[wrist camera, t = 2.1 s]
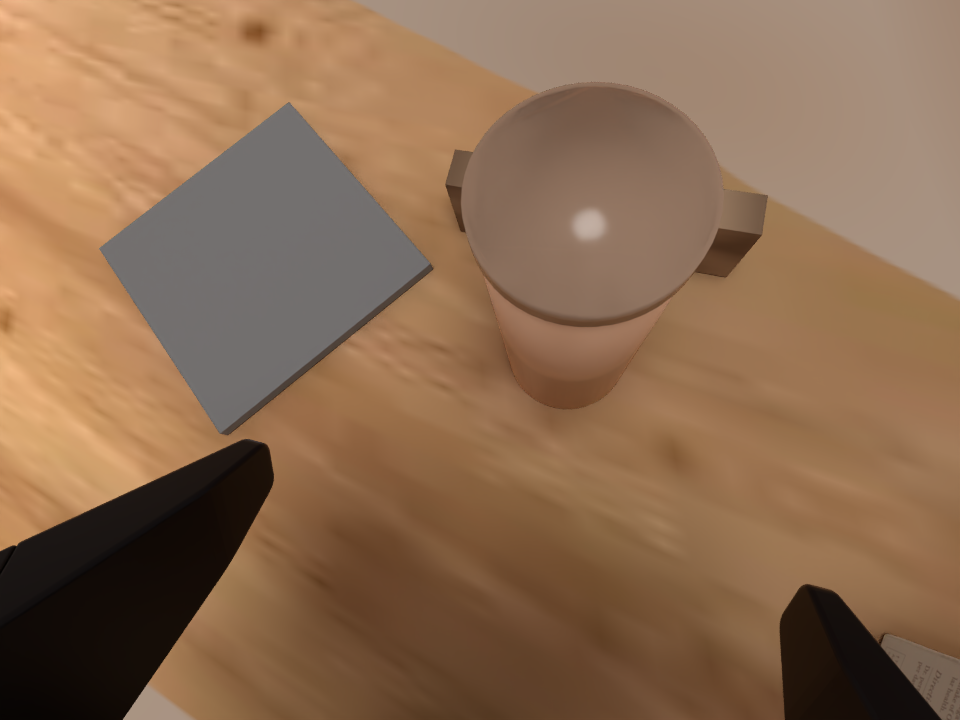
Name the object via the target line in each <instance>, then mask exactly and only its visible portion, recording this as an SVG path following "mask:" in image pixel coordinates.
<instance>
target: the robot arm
mask: <svg viewBox="0 0 960 720" xmlns="http://www.w3.org/2000/svg"><path fill="white" fill-rule="evenodd" d="M273 481H274V473H273V467H272V462H271V456H270V450H269V447H268V446H267V445H266V444H265V443H262V442H258V441H254V440H250V439H244V440H241V441H239V442H236V443H234V444H232V445H230V446H228V447H226V448H223V449H221V450H219V451H217V452H215V453H212V454H210V455H208V456H206V457H204V458H202V459H199V460H197V461H195V462H193V463H191V464H189V465H186V466H184V467H182V468H180V469H178V470H176V471H173V472H171V473H169V474H167V475H165V476H163V477H160V478H158V479H156V480H154V481H152V482H150V483H147V484H145V485H143V486H141V487H139V488H137V489H134V490H132V491H130V492H128V493H126V494H124V495H121V496H119V497H117V498H115V499H113V500H110V501H108V502H106V503H104V504H102V505H100V506H97V507H95V508H93V509H91V510H89V511H87V512H84V513H82V514H80V515H78V516H76V517H74V518H71V519H69V520H67V521H65V522H63V523H61V524H58V525H56V526H54V527H52V528H50V529H48V530H45V531H43V532H41V533H39V534H37V535H34V536H32V537H30V538H28V539H26V540H24V541H21V542H20V543H19V544H18V545H17V546H15V545H13V546H10V547H8V548H6V549H4V550H2V551H0V720H123V718H124V717H125V715H126V714H127V712H128V711H129V710H130V708H131V707H132V705H133V704H134V702H135V701H136V700H137V698H138V697H139V695H140V694H141V692H142V691H143V689H144V688H145V686H146V685H147V684H148V682H149V681H150V679H151V678H152V676H153V675H154V673H155V672H156V671H157V669H158V668H159V666H160V665H161V663H162V662H163V660H164V659H165V657H166V656H167V655H168V653H169V652H170V650H171V649H172V647H173V646H174V644H175V643H176V641H177V640H178V639H179V637H180V636H181V634H182V633H183V631H184V630H185V628H186V627H187V626H188V624H189V623H190V621H191V620H192V618H193V617H194V615H195V614H196V612H197V611H198V610H199V608H200V607H201V605H202V604H203V602H204V601H205V599H206V598H207V597H208V595H209V594H210V592H211V591H212V589H213V588H214V586H215V585H216V583H217V582H218V581H219V579H220V578H221V576H222V575H223V573H224V572H225V570H226V569H227V567H228V566H229V564H230V562H231V561H232V559H233V557H234V556H235V554H236V552H237V550H238V549H239V547H240V545H241V543H242V541H243V539H244V538H245V536H246V534H247V532H248V530H249V529H250V527H251V525H252V523H253V521H254V519H255V518H256V516H257V514H258V512H259V510H260V509H261V507H262V505H263V503H264V501H265V499H266V498H267V496H268V494H269V492H270V490H271V488H272V485H273ZM780 645H781V663H782V680H783V697H784V714H785V720H942V719H941V718H940V717H939V715H938V714H937V713H936V712H935V711H934V709H933V708H932V707H931V706H930V705H929V703H928V702H927V701H926V700H925V699H924V697H923V696H922V695H921V694H920V692H919V691H918V690H917V689H916V688H915V686H914V685H913V684H912V683H911V682H910V680H909V679H908V678H907V677H906V676H905V674H904V673H903V672H902V671H901V670H900V668H899V667H898V666H897V665H896V664H895V662H894V661H893V660H892V659H891V658H890V656H889V655H888V654H887V653H886V652H885V650H884V649H883V648H882V647H881V646H880V644H879V643H878V642H877V641H876V640H875V638H874V637H873V636H872V635H871V634H870V632H869V631H868V630H867V629H866V628H865V626H864V625H863V624H862V623H861V621H860V620H859V619H858V618H857V617H856V615H855V614H854V613H853V612H852V611H851V609H850V608H849V607H848V606H847V605H846V603H845V602H844V601H843V600H842V599H841V597H840V596H839V595H838V594H836V593H835V592H834V591H832V590H829V589H825V588H822V587H818V586H814V585H810V584H805V585H803V586H801V587H800V588H799V590H798V591H797V593H796V594H795V596H794V597H793V599H792V600H791V602H790V603H789V605H788V606H787V608H786V609H785V611H784V612H783V614H782V617H781V620H780Z"/></svg>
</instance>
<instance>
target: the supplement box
mask: <svg viewBox="0 0 960 720" xmlns="http://www.w3.org/2000/svg"><path fill="white" fill-rule="evenodd" d="M881 647H882V648H883V649H884V650H885V652H886V653H887V654H888V655H889V656H890V658H891V659H892V660H893V661H894V662H895V664H896V665H897V666H898V667H899V668H900V670H901V671H902V672H903V673H904V674H905V676H906V677H907V678H908V679H909V680H910V682H911V683H912V684H913V685H914V686H915V688H916V689H917V690H918V691H919V692H920V694H921V695H922V696H923V697H924V699H925V700H926V701H927V702H928V703H929V705H930V706H931V707H932V708H933V709H934V711H935V712H936V713H937V714H938V715H939V717H940V718H941V719H942V720H960V659H957V658H954V657H952V656H949V655H946V654H943V653H940V652H937V651H935V650H932V649H930V648H927V647H924V646H922V645H919V644H917V643H914V642H911V641H909V640H906V639H904V638H900V637H897V636H894V635H890V634H885V635H884V638H883V641H882V644H881Z"/></svg>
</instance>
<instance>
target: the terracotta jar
mask: <svg viewBox="0 0 960 720" xmlns="http://www.w3.org/2000/svg"><path fill="white" fill-rule="evenodd" d="M723 200H724V192H723V180H722V175H721V171H720V167H719V163H718V161H717V158H716V156H715V153H714V151H713V149H712V147H711V146H710V144H709V142H708V140H707V139H706V137H705V136H704V134H703V133H702V132H701V130H700V129H699V128H698V127H697V125H696V124H695V123H694V122H693V121H692V120H691V119H690V118H689V117H688V116H687V115H685V114H684V113H683V112H682V111H680V110H679V109H678V108H676V107H675V106H674V105H672V104H671V103H669V102H667V101H666V100H664V99H662V98H660V97H659V96H656V95H654V94H652V93H649V92H647V91H644V90H641V89H638V88H634V87H631V86H627V85H621V84H615V83H605V82H587V83H576V84H570V85H564V86H560V87H556V88H553V89H549V90H546V91H544V92H541V93H539V94H536V95H534V96H532V97H530V98H528V99H526V100H524V101H523V102H521V103H519V104H518V105H516V106H515V107H513V108H512V109H510V110H509V111H508V112H506V113H505V114H504V115H503V116H502V117H501V118H499V119H498V120H497V121H496V122H495V123H494V124H493V125H492V126H491V127H490V129H489V130H488V131H487V132H486V133H485V134H484V136H483V137H482V139H481V140H480V142H479V143H478V145H477V146H476V148H475V150H474V152H473V154H472V156H471V158H470V160H469V163H468V166H467V169H466V172H465V175H464V180H463V185H462V195H461V208H462V219H463V223H464V227H465V231H466V234H467V238H468V241H469V244H470V247H471V250H472V253H473V255H474V258H475V260H476V263H477V265H478V266H479V268H480V270H481V271H482V273H483V275H484V278H485V281H486V285H487V288H488V292H489V295H490V298H491V302H492V305H493V308H494V312H495V315H496V319H497V322H498V325H499V329H500V332H501V335H502V339H503V342H504V346H505V349H506V352H507V356H508V359H509V362H510V366H511V369H512V372H513V374H514V377H515V378H516V380H517V382H518V383H519V385H520V386H521V387H522V389H523V390H524V391H525V392H526V393H527V394H528V395H530V396H531V397H532V398H533V399H535V400H537V401H539V402H540V403H543V404H545V405H547V406H551V407H554V408H560V409H575V408H581V407H585V406H588V405H590V404H593V403H595V402H597V401H598V400H600V399H601V398H603V397H604V396H606V395H607V394H608V393H609V392H610V391H611V390H612V389H613V387H614V386H615V385H616V383H617V382H618V380H619V379H620V377H621V376H622V374H623V373H624V371H625V369H626V368H627V366H628V365H629V363H630V362H631V360H632V359H633V357H634V355H635V354H636V352H637V351H638V349H639V348H640V346H641V345H642V343H643V342H644V340H645V338H646V337H647V335H648V334H649V332H650V331H651V329H652V328H653V326H654V324H655V323H656V321H657V320H658V318H659V317H660V315H661V314H662V312H663V311H664V309H665V307H666V306H667V304H668V303H669V301H670V300H671V298H672V297H673V295H675V294H676V293H677V292H678V291H679V290H680V289H681V288H682V287H683V286H684V285H685V283H686V282H687V281H688V280H689V278H690V277H691V276H692V275H693V273H694V272H695V270H696V269H697V267H698V266H699V264H700V263H701V261H702V260H703V258H704V257H705V255H706V253H707V252H708V250H709V248H710V247H711V245H712V243H713V241H714V238H715V236H716V233H717V231H718V228H719V225H720V221H721V216H722V212H723Z"/></svg>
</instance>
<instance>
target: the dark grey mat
mask: <svg viewBox="0 0 960 720" xmlns="http://www.w3.org/2000/svg"><path fill="white" fill-rule="evenodd" d="M99 249H100V251H101V252H102V254H103V255H104V257H105V258H106V260H107V261H108V263H109V264H110V266H111V267H112V269H113V271H114V272H115V274H116V275H117V277H118V278H119V280H120V281H121V283H122V284H123V286H124V287H125V289H126V290H127V292H128V293H129V295H130V297H131V298H132V300H133V301H134V303H135V304H136V306H137V307H138V309H139V310H140V312H141V313H142V315H143V316H144V318H145V320H146V321H147V323H148V324H149V326H150V327H151V329H152V330H153V332H154V333H155V335H156V336H157V338H158V339H159V341H160V342H161V344H162V346H163V347H164V349H165V350H166V352H167V353H168V355H169V356H170V358H171V359H172V361H173V362H174V364H175V365H176V367H177V369H178V370H179V372H180V373H181V375H182V376H183V378H184V379H185V381H186V382H187V384H188V385H189V387H190V388H191V390H192V391H193V393H194V395H195V396H196V398H197V399H198V401H199V402H200V404H201V405H202V407H203V408H204V410H205V411H206V413H207V414H208V416H209V418H210V419H211V421H212V422H213V424H214V425H215V427H216V428H217V430H218V431H219V433H220V434H225V435H229V434H230V433H231V432H232V431H234V430H235V429H236V428H237V427H238V426H240V425H241V424H242V423H243V422H245V421H246V420H247V419H248V418H250V417H251V416H252V415H253V414H255V413H256V412H257V411H258V410H259V409H261V408H262V407H263V406H264V405H266V404H267V403H268V402H269V401H271V400H272V399H273V398H274V397H276V396H277V395H278V394H279V393H281V392H282V391H283V390H284V389H285V388H287V387H288V386H289V385H290V384H292V383H293V382H294V381H295V380H297V379H298V378H299V377H300V376H302V375H303V374H304V373H305V372H306V371H308V370H309V369H310V368H311V367H313V366H314V365H315V364H316V363H318V362H319V361H320V360H321V359H323V358H324V357H325V356H326V355H328V354H329V353H330V352H331V351H332V350H334V349H335V348H336V347H337V346H339V345H340V344H341V343H342V342H344V341H345V340H346V339H347V338H349V337H350V336H351V335H352V334H353V333H355V332H356V331H357V330H358V329H360V328H361V327H362V326H363V325H365V324H366V323H367V322H368V321H370V320H371V319H372V318H373V317H375V316H376V315H377V314H378V313H379V312H381V311H382V310H383V309H384V308H386V307H387V306H388V305H389V304H391V303H392V302H393V301H394V300H396V299H397V298H398V297H399V296H400V295H402V294H403V293H404V292H405V291H407V290H408V289H409V288H410V287H412V286H413V285H414V284H415V283H417V282H418V281H419V280H420V279H421V278H423V277H424V276H425V275H426V274H428V273H429V272H430V271H431V270H433V268H432V266H431V264H430V263H429V261H428V260H427V259H426V258H425V257H424V256H423V255H422V253H421V252H420V251H419V250H418V249H417V248H416V247H415V245H414V244H413V243H412V242H411V241H410V240H409V239H408V237H407V236H406V235H405V234H404V233H403V232H402V231H401V229H400V228H399V227H398V226H397V225H396V224H395V223H394V221H393V220H392V219H391V218H390V217H389V216H388V215H387V213H386V212H385V211H384V210H383V209H382V208H381V207H380V205H379V204H378V203H377V202H376V201H375V200H374V199H373V197H372V196H371V195H370V194H369V193H368V192H367V191H366V189H365V188H364V187H363V186H362V185H361V184H360V183H359V181H358V180H357V179H356V178H355V177H354V176H353V175H352V173H351V172H350V171H349V170H348V169H347V168H346V167H345V165H344V164H343V163H342V162H341V161H340V160H339V159H338V157H337V156H336V155H335V154H334V153H333V152H332V151H331V149H330V148H329V147H328V146H327V145H326V144H325V143H324V141H323V140H322V139H321V138H320V137H319V136H318V135H317V133H316V132H315V131H314V130H313V129H312V128H311V127H310V125H309V124H308V123H307V122H306V121H305V120H304V119H303V117H302V116H301V115H300V114H299V113H298V112H297V111H296V109H295V108H294V107H293V106H292V105H291V104H290V103H289V102H288V103H287V104H286V105H284V106H283V107H282V108H281V109H279V110H278V111H277V112H275V113H274V114H273V115H271V116H270V117H269V118H268V119H266V120H265V121H264V122H262V123H261V124H260V125H259V126H257V127H256V128H255V129H253V130H252V131H251V132H249V133H248V134H247V135H246V136H244V137H243V138H242V139H240V140H239V141H238V142H236V143H235V144H234V145H233V146H231V147H230V148H229V149H227V150H226V151H225V152H223V153H222V154H221V155H220V156H218V157H217V158H216V159H214V160H213V161H212V162H210V163H209V164H208V165H207V166H205V167H204V168H203V169H201V170H200V171H199V172H197V173H196V174H195V175H194V176H192V177H191V178H190V179H188V180H187V181H186V182H185V183H183V184H182V185H181V186H179V187H178V188H177V189H175V190H174V191H173V192H172V193H170V194H169V195H168V196H166V197H165V198H164V199H162V200H161V201H160V202H159V203H157V204H156V205H155V206H153V207H152V208H151V209H149V210H148V211H147V212H146V213H144V214H143V215H142V216H140V217H139V218H138V219H136V220H135V221H134V222H133V223H131V224H130V225H129V226H127V227H126V228H125V229H124V230H122V231H121V232H120V233H118V234H117V235H116V236H114V237H113V238H112V239H111V240H109V241H108V242H107V243H105V244H104V245H103V246H101V247H100V248H99Z"/></svg>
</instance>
